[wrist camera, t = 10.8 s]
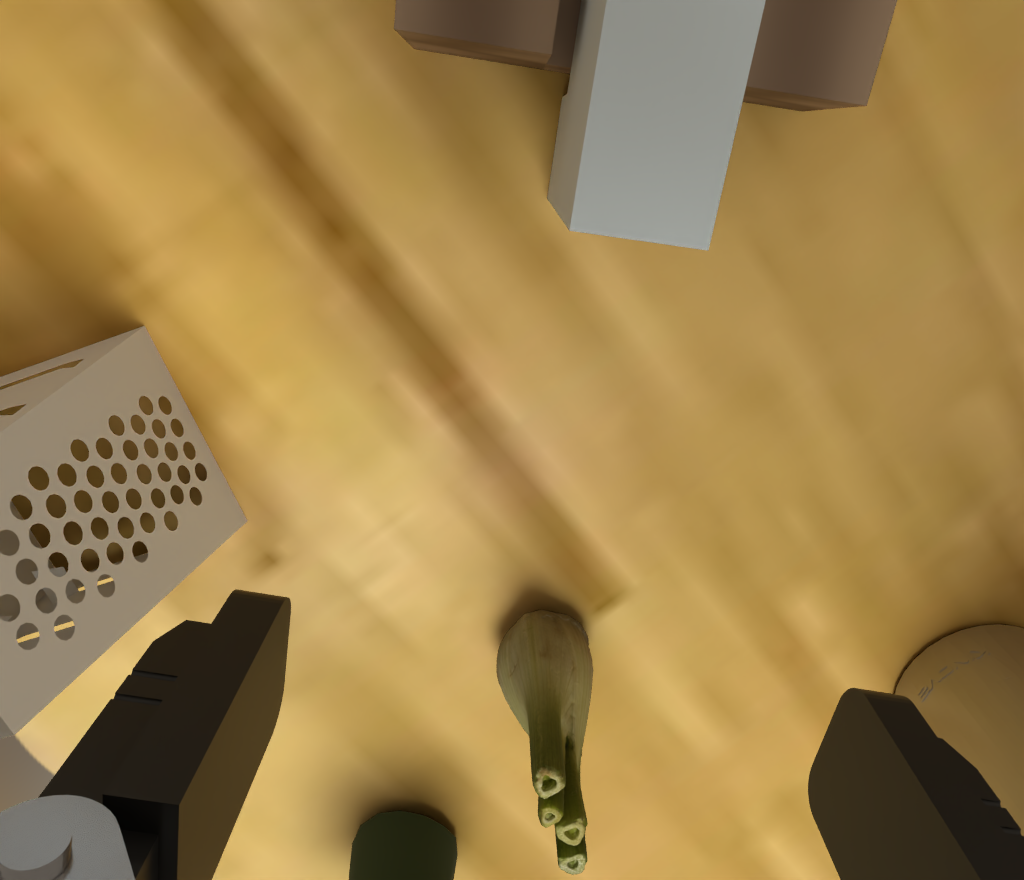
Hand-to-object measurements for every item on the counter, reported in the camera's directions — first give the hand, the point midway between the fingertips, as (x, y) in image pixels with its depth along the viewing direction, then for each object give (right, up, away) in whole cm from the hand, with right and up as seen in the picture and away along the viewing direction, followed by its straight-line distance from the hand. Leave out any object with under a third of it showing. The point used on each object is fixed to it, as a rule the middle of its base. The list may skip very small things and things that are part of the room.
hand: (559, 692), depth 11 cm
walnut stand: (+4, +20, +19) cm, 28 cm away
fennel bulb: (+1, -7, +30) cm, 31 cm away
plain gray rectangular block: (+4, +20, +19) cm, 28 cm away
